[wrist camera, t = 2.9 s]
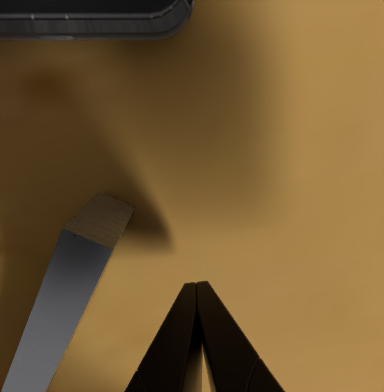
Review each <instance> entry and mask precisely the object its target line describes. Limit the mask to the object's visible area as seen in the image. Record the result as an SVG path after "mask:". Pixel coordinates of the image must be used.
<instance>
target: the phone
mask: <svg viewBox="0 0 384 392" xmlns="http://www.w3.org/2000/svg"><path fill="white" fill-rule="evenodd" d="M193 8H194V0H0V40H160V39H165V38H170V37H171V36H173V35H175V34H176V33H178V32H179V31H180V30H181V29H182V28H183V27H184V26H185V24H186V23H187V22H188V20H189V18H190V15H191V13H192V11H193Z"/></svg>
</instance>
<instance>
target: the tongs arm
mask: <svg viewBox="0 0 384 392" xmlns="http://www.w3.org/2000/svg"><path fill="white" fill-rule="evenodd" d="M134 209H135V207H133V206H131V205H129V204H126V203H124V202H122V201H120V200H118V199H115V198H113V197H111V196H109V195H107V194H104V193H102V192H99V193H98V194H97V195H96V196H95V197H94V198H93V199H92V200H91V201H90V202H89V203H88V204H87V205H86V206H85V207H84V208H83V209H82V210H81V211H80V212H79V213H78V214H77V215H76V216H75V217H74V218H73V219H72V220H71V221H70V222H69V223H68V224H67V225H66V226H64V227H63V229H62V231H61V234H60V237H59V239H58V242H57V244H56V247H55V250H54V252H53V255H52V258H51V260H50V263H49V266H48V268H47V271H46V274H45V276H44V279H43V282H42V284H41V287H40V290H39V292H38V295H37V298H36V300H35V303H34V306H33V308H32V311H31V314H30V316H29V319H28V322H27V324H26V327H25V329H24V332H23V335H22V337H21V340H20V343H19V345H18V348H17V351H16V353H15V356H14V359H13V361H12V364H11V367H10V369H9V372H8V375H7V377H6V380H5V383H4V385H3V388H2V391H1V392H46V391H47V389H48V387H49V385H50V383H51V381H52V379H53V377H54V375H55V372H56V370H57V368H58V366H59V364H60V362H61V360H62V358H63V356H64V354H65V352H66V350H67V348H68V346H69V343H70V341H71V339H72V337H73V335H74V333H75V331H76V329H77V327H78V325H79V323H80V321H81V319H82V316H83V314H84V312H85V310H86V308H87V306H88V304H89V302H90V300H91V298H92V296H93V294H94V292H95V290H96V287H97V285H98V283H99V281H100V279H101V277H102V275H103V273H104V271H105V269H106V267H107V265H108V263H109V261H110V258H111V256H112V254H113V252H114V250H115V248H116V246H117V244H118V242H119V240H120V238H121V236H122V234H123V231H124V229H125V227H126V225H127V223H128V221H129V219H130V217H131V215H132V213H133V211H134Z"/></svg>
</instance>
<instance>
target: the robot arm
mask: <svg viewBox="0 0 384 392" xmlns="http://www.w3.org/2000/svg"><path fill="white" fill-rule="evenodd" d="M202 346H203V349H202ZM203 352H204V358H205V363H206V369H207V374H208V379H209V384H210V389H211V392H285V391H284V390H283V388H282V387H281V386H280V384H279V383H278V381H277V380H276V379H275V377H274V376H273V375H272V373H271V372H270V371H269V369H268V368H267V366H266V365H265V363H264V362H263V360H262V359H260V356H259V355H258V353H257V352H256V350H255V349H254V348H253V346H252V345H251V343H250V342H249V340H248V339H247V337H246V336H245V334H244V333H243V332H242V330H241V329H240V327H239V326H238V324H237V323H236V321H235V320H234V319H233V317H232V316H231V314H230V313H229V311H228V310H227V308H226V307H225V305H224V304H223V303H222V301H221V300H220V298H219V297H218V295H217V294H216V292H215V291H214V289H213V288H212V287H211V285H210V284H209V282H208V281H200V282H197V283H195V282H191V283H185V284H184V285H183V287H182V289H181V291H180V293H179V294H178V296H177V298H176V300H175V302H174V303H173V305H172V307H171V309H170V311H169V312H168V314H167V316H166V318H165V320H164V321H163V323H162V325H161V327H160V329H159V330H158V332H157V334H156V336H155V338H154V339H153V341H152V343H151V345H150V347H149V348H148V350H147V352H146V354H145V356H144V358H143V359H142V361H141V363H140V365H139V367H138V369H137V370H138V371H136V372H135V373H134V375H133V377H132V379H131V381H130V383H129V384H128V386H127V388H126V390H125V391H124V392H202V360H203Z"/></svg>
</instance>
